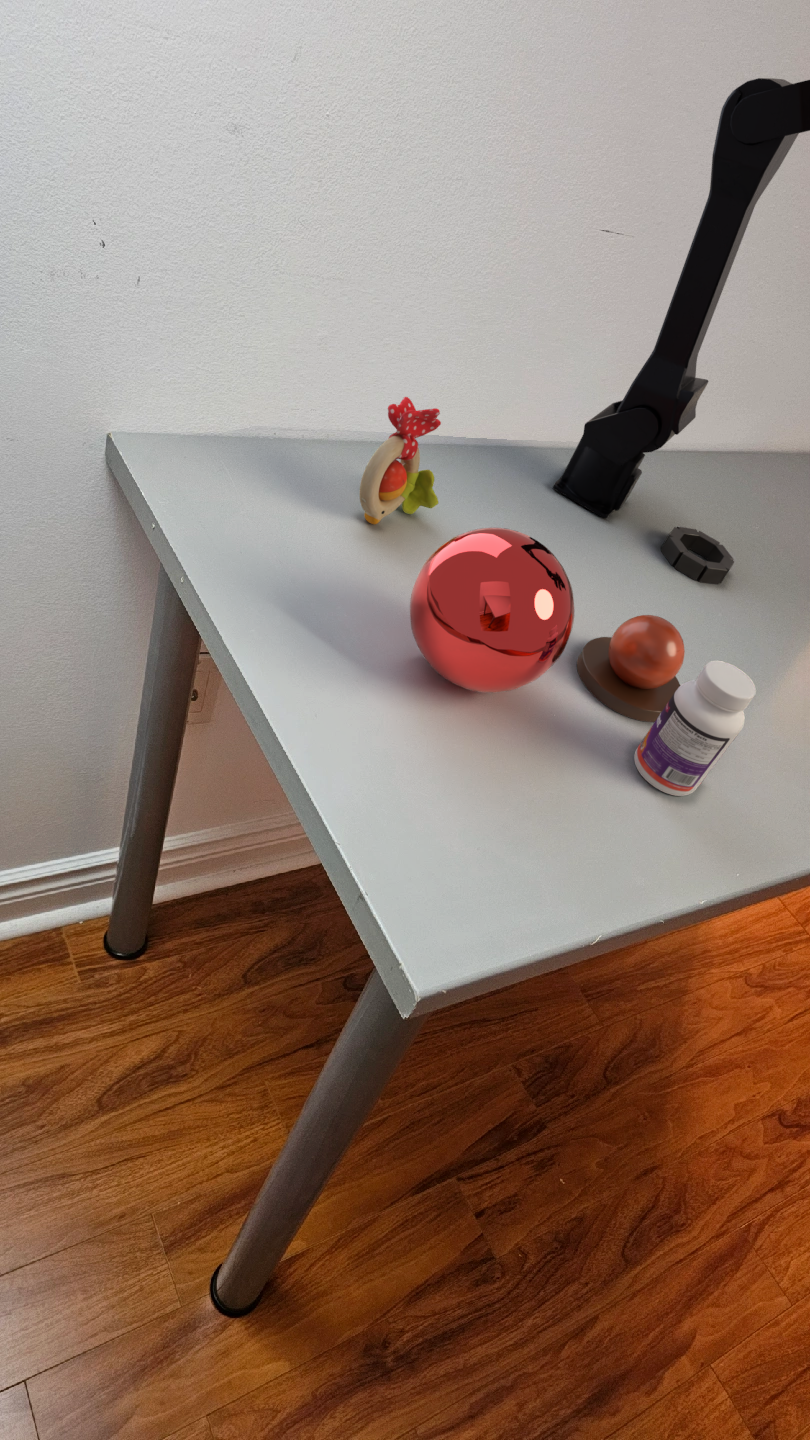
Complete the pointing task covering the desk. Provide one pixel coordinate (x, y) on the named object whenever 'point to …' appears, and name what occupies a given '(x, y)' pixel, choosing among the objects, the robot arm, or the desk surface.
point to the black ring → (692, 564)
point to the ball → (492, 610)
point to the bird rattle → (399, 466)
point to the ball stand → (634, 667)
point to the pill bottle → (695, 729)
